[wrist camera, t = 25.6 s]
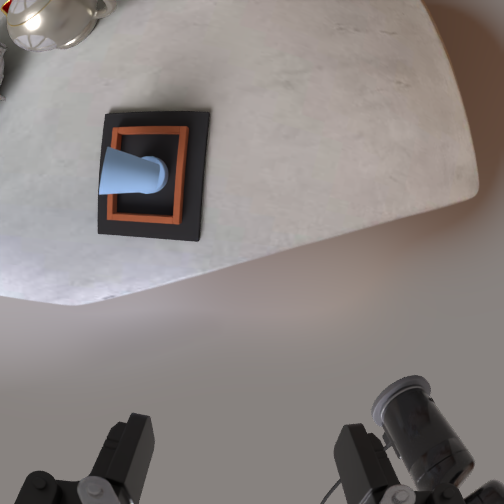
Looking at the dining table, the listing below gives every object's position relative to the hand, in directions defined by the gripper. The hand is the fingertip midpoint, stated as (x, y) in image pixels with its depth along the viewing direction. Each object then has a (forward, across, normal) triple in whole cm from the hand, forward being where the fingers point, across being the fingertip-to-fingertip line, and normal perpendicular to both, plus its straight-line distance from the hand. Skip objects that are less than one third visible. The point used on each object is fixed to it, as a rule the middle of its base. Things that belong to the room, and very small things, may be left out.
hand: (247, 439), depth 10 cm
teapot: (+28, -28, +34) cm, 52 cm away
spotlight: (+28, -13, +10) cm, 32 cm away
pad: (+28, -13, +10) cm, 33 cm away
